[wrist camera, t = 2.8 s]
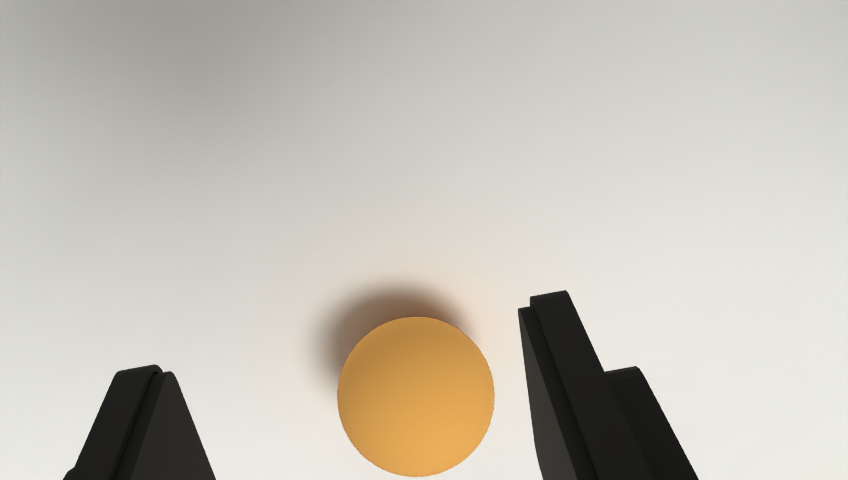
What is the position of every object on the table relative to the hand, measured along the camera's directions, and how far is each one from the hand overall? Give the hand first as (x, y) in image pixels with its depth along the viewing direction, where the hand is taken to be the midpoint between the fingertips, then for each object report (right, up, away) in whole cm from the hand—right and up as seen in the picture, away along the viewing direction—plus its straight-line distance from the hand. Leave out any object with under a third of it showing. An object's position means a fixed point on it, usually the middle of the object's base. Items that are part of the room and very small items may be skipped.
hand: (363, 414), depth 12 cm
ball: (+1, -3, +16) cm, 16 cm away
